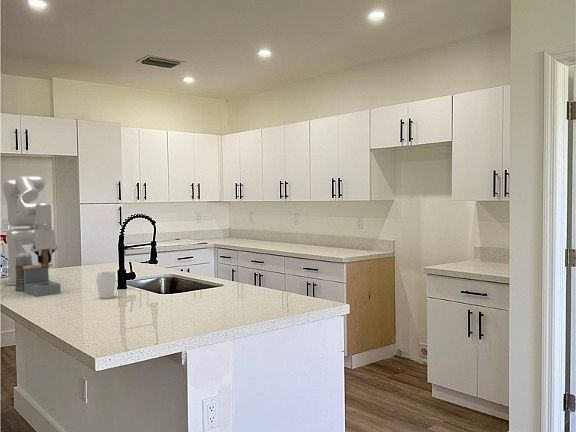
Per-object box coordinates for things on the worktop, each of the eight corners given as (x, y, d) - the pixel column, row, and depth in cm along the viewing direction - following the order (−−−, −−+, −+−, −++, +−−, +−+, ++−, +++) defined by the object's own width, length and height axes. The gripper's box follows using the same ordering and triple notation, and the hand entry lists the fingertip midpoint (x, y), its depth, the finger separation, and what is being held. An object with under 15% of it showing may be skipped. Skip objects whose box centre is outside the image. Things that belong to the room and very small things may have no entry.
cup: (92, 298, 253) (92, 273, 253) (106, 294, 261) (106, 271, 261) (105, 299, 249) (105, 275, 249) (119, 296, 257) (119, 272, 257)
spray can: (36, 288, 280) (35, 252, 279) (27, 291, 272) (26, 253, 271) (21, 288, 281) (20, 251, 280) (12, 291, 273) (11, 253, 272)
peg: (42, 268, 261) (41, 245, 261) (39, 268, 264) (39, 244, 264) (49, 267, 264) (49, 244, 264) (47, 267, 266) (46, 244, 266)
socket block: (23, 292, 268) (22, 266, 267) (48, 289, 277) (48, 263, 277) (35, 296, 257) (34, 268, 256) (61, 293, 266) (60, 266, 266)
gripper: (29, 228, 255) (30, 265, 255) (63, 226, 267) (64, 261, 267) (23, 228, 260) (24, 264, 260) (56, 226, 272) (57, 261, 273)
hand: (44, 262), depth 264 cm, fingers closed on peg, 3 cm apart
